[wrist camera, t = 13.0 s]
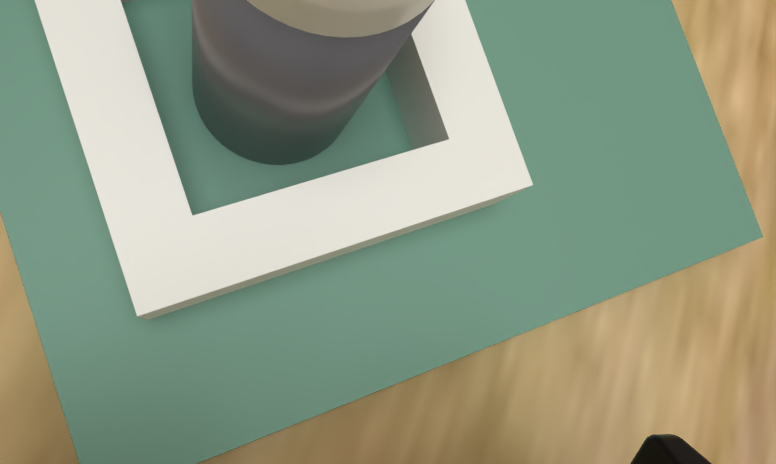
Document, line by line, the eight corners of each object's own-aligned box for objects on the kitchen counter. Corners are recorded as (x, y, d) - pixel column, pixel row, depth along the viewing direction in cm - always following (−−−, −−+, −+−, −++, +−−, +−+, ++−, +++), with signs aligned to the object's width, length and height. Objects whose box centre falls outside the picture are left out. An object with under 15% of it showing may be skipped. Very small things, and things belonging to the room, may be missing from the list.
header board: (743, 240, 26) (833, 223, 23) (98, 497, 20) (71, 535, 16) (596, -139, 27) (659, -217, 24) (-64, -18, 21) (-126, -100, 17)
